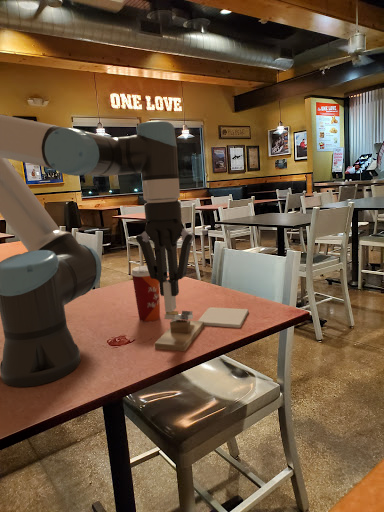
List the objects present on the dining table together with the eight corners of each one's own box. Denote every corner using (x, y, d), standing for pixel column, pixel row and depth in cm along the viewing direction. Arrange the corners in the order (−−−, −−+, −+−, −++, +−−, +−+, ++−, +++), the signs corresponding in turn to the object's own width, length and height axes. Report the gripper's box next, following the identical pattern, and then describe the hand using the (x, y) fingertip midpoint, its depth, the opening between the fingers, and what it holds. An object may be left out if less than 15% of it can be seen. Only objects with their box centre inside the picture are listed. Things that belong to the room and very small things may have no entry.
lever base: (184, 351, 78) (183, 334, 77) (155, 348, 80) (153, 332, 80) (204, 326, 91) (203, 311, 90) (178, 324, 93) (177, 310, 93)
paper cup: (159, 323, 95) (154, 271, 92) (131, 323, 96) (125, 271, 94) (167, 312, 102) (163, 264, 99) (141, 312, 104) (136, 264, 101)
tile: (240, 327, 88) (239, 324, 88) (197, 324, 92) (196, 321, 92) (248, 312, 99) (248, 309, 98) (209, 309, 102) (209, 307, 102)
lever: (177, 320, 78) (178, 311, 78) (160, 319, 80) (161, 310, 80) (195, 319, 90) (196, 311, 90) (180, 318, 91) (181, 310, 91)
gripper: (197, 198, 77) (204, 305, 81) (142, 201, 81) (151, 303, 85) (185, 200, 70) (193, 317, 74) (125, 203, 74) (136, 314, 78)
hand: (170, 309), depth 79 cm, fingers closed
